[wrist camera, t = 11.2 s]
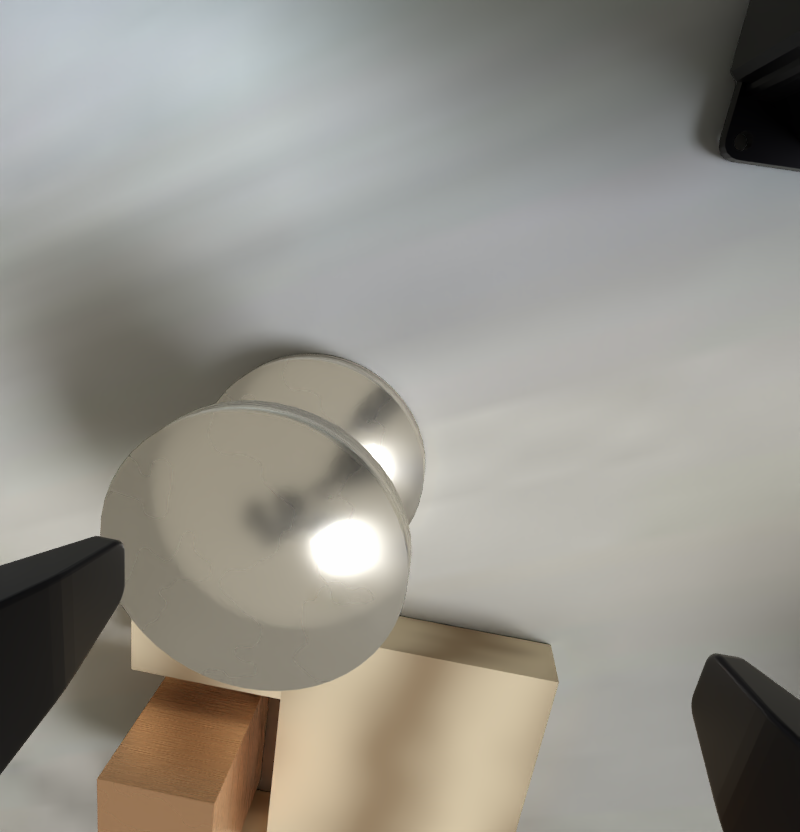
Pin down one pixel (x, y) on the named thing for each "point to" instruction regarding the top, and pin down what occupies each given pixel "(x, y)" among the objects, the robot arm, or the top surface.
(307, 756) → the notched board
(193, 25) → the top surface
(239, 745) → the wooden block
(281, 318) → the top surface
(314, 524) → the bobbin
